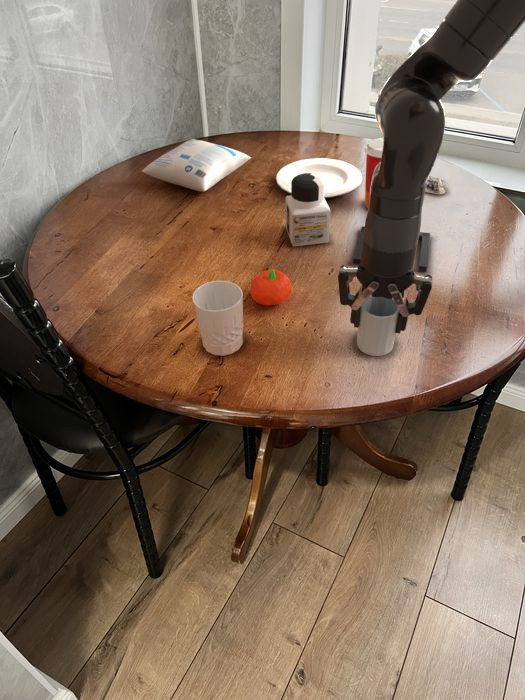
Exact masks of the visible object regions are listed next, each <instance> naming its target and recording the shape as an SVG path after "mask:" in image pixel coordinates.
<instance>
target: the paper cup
mask: <svg viewBox="0 0 525 700" xmlns="http://www.w3.org/2000/svg"><path fill="white" fill-rule="evenodd" d="M382 151H383V137H379V138H374V139H371V140H370V141H368V143H367V144H366V147H365V148H364V153H365V154H366V155H365V156H366V157H365V158H366V159H365V186H364V189H365V190H364V205H365V208H367V209H368V207H369V199H370V190H371V182H372V176H373V173H374V170H375V168H376V166H377V165H378V164H379V163H380V162H381V157H382Z"/></svg>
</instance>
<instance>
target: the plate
mask: <svg viewBox="0 0 525 700" xmlns="http://www.w3.org/2000/svg"><path fill="white" fill-rule="evenodd" d="M303 173H313V174H317V175H320V176H321V177H322V178H323V179H324V181H325V184H324V199H332V198H336V197H337V198H338V197H342V196H345V195H347V194H349V193H352V192H353V191H355V190H356V189H358V188H359V187H360V186H361V184H362V182H363V175H362V173H361V171H360V170H359V169H358V168H357V167H356V166H354V165H352V164H350V163H349V162H346V161H342V160H339V159H333V158H332V159H331V158H323V157H321V158H318V157H317V158H316V157H315V158H306V159H305V158H304V159H300V160H296V161H293V162H291V163H288V164H286V165H285V166H283V167H282V168H280V170H279V171H278V172H277V173H276V176H275V181H276V183H277V186H278V187H279V188H280V189H281V190H283V191H285V192H286V193H288V194H290V195H291V181H292V179H293V178H294V177H295V176H297V175H299V174H303Z"/></svg>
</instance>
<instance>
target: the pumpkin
mask: <svg viewBox="0 0 525 700" xmlns="http://www.w3.org/2000/svg"><path fill="white" fill-rule="evenodd" d="M249 294H250V296H251V298H252V300H253V301H254V302H256V303H257V304H259V305H261V306H262V305H263V306H275V305H278V304H281V303H284V302H285V301H286V300H287V299H288V298H289V297H290V295H291V294H292V284H291V279H290V278H289V277H288V275H287V274H286V273H284V272H282V271H281V270H278V269H276V268H271V269H267V270H265V271H263V272H261V273H259V274H258V275H256V276H254V277H253V278H252V280H251V282H250V286H249Z"/></svg>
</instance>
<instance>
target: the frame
mask: <svg viewBox="0 0 525 700" xmlns="http://www.w3.org/2000/svg"><path fill="white" fill-rule="evenodd" d="M430 236H431V232H425V231H424V232H423V231H422V232H421V231H420V235H419V239H418V242H420V249H419V250H420V251H419V261H418V269H417V271H418V272H422V273H427V270H428V264H429V263H428V262H429V250H430V238H431V237H430ZM363 237H364V226H363V225H362V226H361V228H360V232H359V236H358V239H357V244H356V248H355V251H354V256H353V259H352V260H353V261H352V264H353V265H360V264H361V255H362V246H363Z"/></svg>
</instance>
